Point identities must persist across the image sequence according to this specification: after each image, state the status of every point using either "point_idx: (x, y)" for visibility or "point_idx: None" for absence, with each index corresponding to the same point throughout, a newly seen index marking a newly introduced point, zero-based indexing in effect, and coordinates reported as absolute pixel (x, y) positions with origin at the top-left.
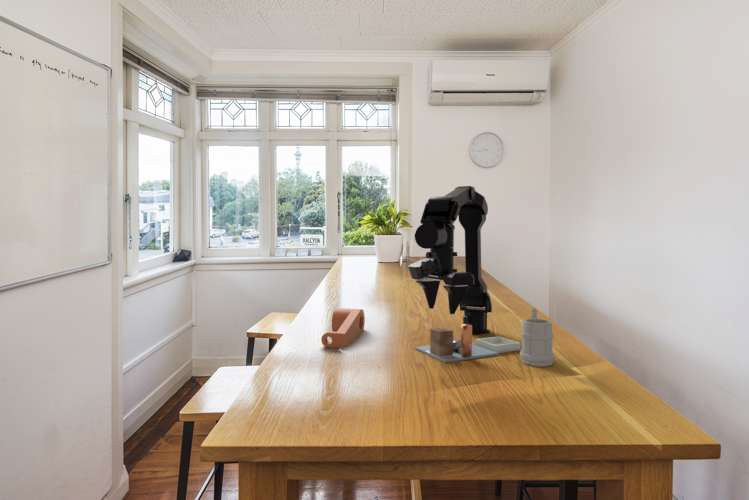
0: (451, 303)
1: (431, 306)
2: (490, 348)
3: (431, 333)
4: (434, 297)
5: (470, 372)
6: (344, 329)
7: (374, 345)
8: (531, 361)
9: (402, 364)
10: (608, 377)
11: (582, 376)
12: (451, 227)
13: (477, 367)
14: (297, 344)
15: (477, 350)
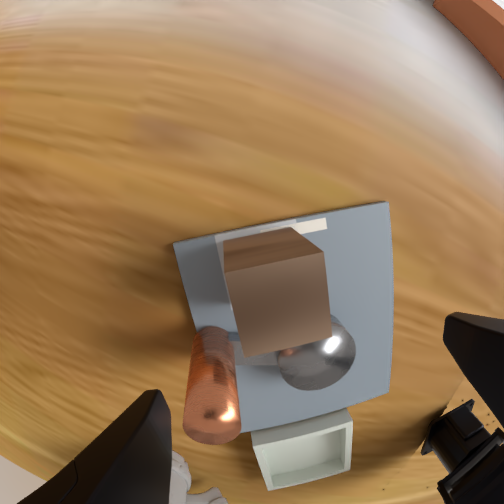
0: (88, 448)
1: (453, 333)
2: (275, 431)
3: (305, 248)
4: (493, 392)
5: (62, 281)
6: (484, 4)
7: (452, 90)
8: None
9: (191, 76)
10: None
11: (62, 462)
12: None
13: (108, 326)
14: None
15: (275, 397)
